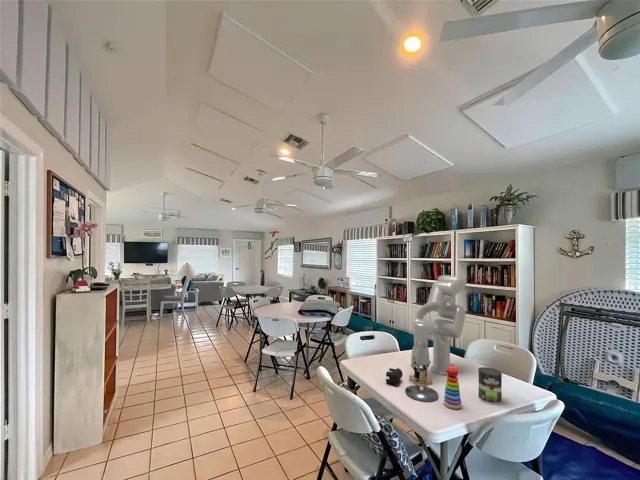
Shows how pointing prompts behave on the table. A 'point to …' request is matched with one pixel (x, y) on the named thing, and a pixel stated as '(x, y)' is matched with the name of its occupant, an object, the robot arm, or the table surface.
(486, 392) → the coffee can
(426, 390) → the plate
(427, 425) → the table surface
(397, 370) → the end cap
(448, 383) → the stacking toy
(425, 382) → the tan faceted octagonal piece
